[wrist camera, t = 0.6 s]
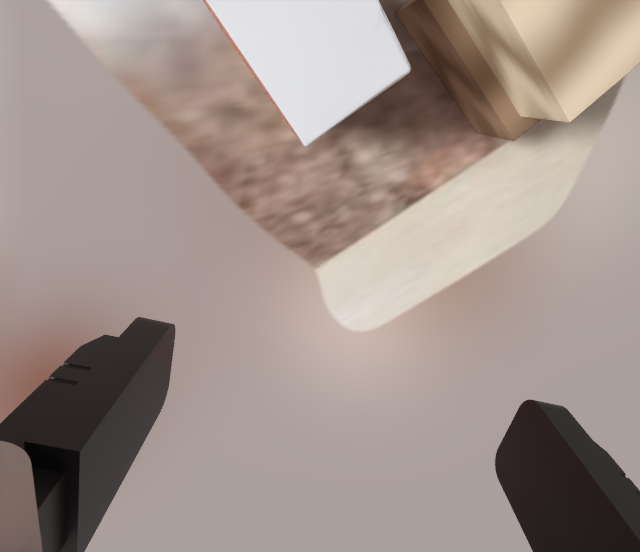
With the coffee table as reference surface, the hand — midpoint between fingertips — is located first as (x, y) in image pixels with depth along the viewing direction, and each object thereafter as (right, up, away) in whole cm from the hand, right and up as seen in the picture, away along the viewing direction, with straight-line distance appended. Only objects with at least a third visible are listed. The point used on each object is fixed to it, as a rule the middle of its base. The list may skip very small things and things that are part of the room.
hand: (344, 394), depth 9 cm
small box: (-2, +19, +20) cm, 28 cm away
